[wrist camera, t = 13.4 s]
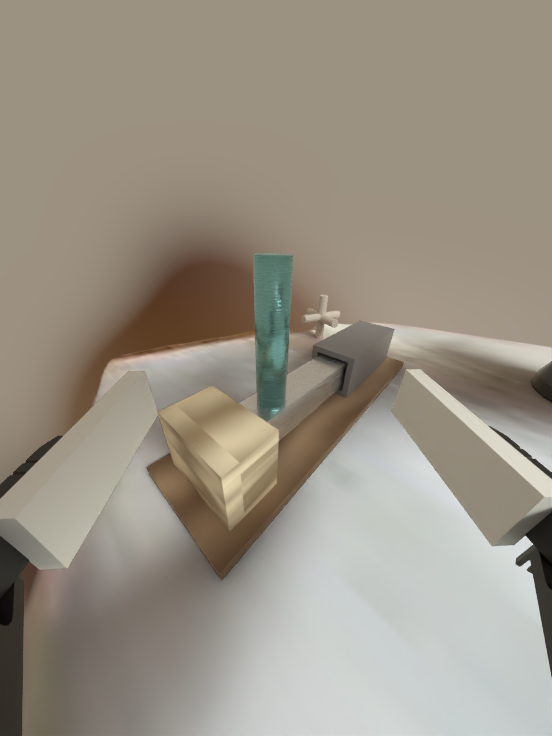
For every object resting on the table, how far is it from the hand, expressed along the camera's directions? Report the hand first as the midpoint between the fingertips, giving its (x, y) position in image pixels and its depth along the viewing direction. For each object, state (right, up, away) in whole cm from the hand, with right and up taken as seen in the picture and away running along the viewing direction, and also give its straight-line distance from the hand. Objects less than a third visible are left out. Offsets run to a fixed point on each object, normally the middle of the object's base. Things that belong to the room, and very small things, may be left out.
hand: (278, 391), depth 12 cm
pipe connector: (+10, +9, +44) cm, 46 cm away
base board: (+6, -4, +21) cm, 22 cm away
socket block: (-5, -9, +10) cm, 14 cm away
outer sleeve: (+13, +1, +28) cm, 31 cm away
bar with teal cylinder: (+3, -4, +17) cm, 18 cm away
